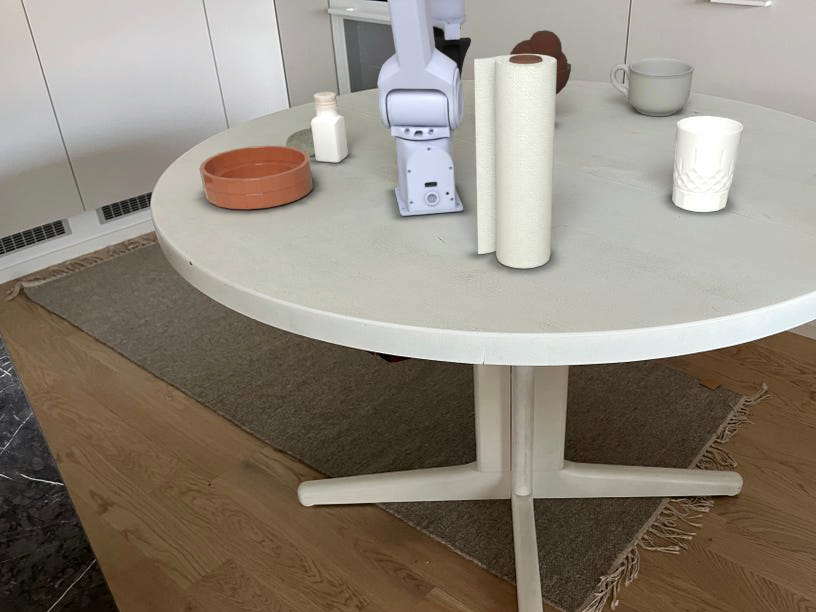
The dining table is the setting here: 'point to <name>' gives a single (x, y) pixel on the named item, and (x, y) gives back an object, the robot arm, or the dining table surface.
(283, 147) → the clay bowl
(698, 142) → the white cup
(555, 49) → the brown rounded tall piece
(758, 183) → the dining table surface
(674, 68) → the teacup
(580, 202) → the dining table surface
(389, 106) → the robot arm
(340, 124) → the pepper shaker
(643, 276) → the dining table surface
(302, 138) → the soupspoon
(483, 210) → the paper towel roll
